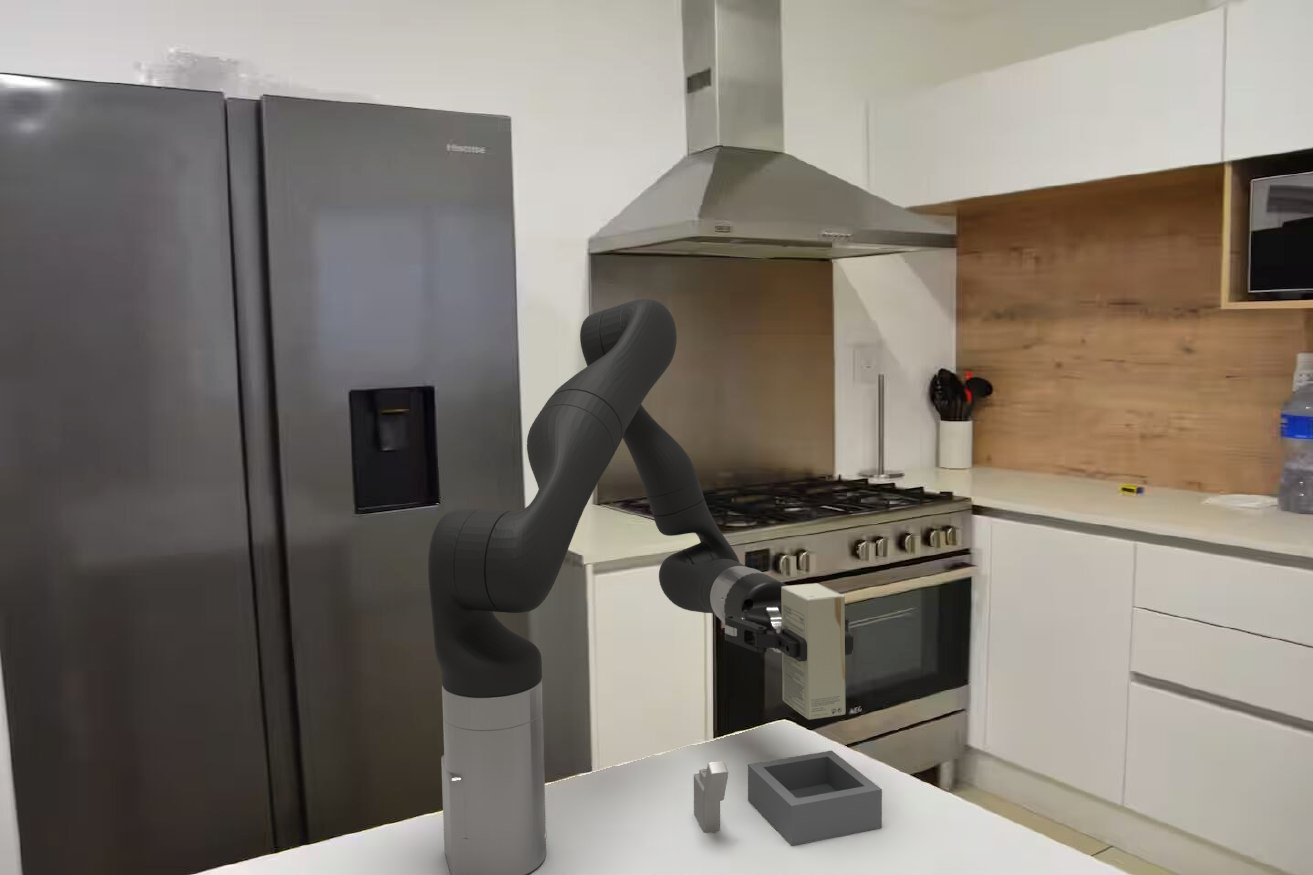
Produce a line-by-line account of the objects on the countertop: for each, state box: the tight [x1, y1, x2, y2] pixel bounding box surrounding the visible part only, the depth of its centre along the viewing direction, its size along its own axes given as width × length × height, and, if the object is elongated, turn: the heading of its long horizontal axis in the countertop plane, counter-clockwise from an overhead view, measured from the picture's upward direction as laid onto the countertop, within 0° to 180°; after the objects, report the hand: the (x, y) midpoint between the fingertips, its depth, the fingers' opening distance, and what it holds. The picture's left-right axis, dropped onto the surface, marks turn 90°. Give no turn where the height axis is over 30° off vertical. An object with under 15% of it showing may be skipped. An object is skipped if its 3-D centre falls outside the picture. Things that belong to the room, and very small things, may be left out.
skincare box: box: [781, 582, 847, 721], centre depth 100 cm, size 6×4×12 cm
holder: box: [747, 750, 883, 847], centre depth 101 cm, size 10×10×4 cm
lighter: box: [693, 760, 729, 834], centre depth 98 cm, size 7×2×8 cm, turn 12°
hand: (826, 648), depth 97 cm, fingers closed on skincare box, 4 cm apart
